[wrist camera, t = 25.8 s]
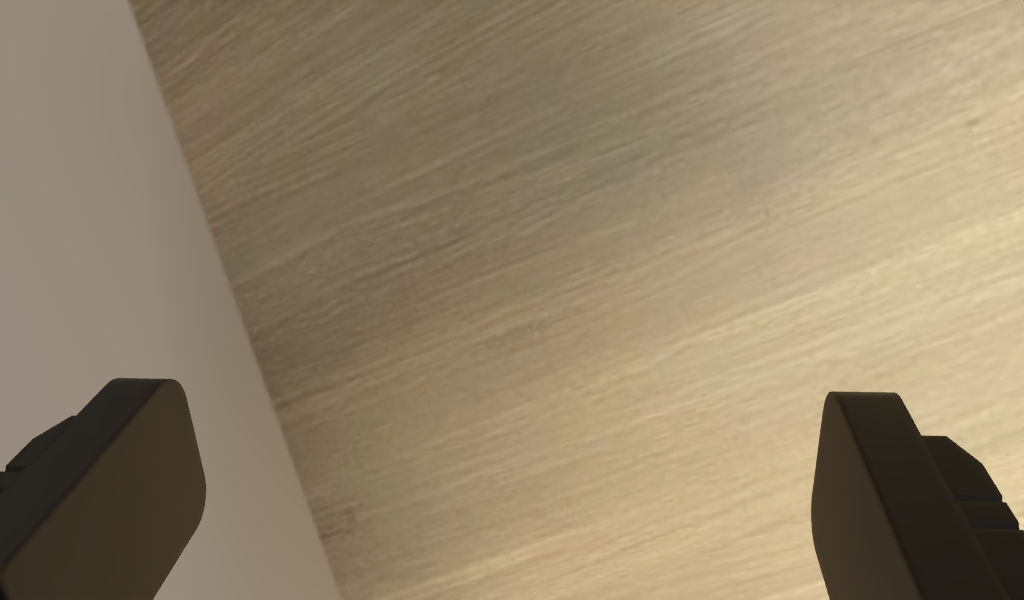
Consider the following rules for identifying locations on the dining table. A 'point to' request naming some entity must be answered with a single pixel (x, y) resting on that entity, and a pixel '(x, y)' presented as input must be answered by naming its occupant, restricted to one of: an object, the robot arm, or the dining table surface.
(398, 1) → the dining table surface
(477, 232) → the dining table surface
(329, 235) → the dining table surface
